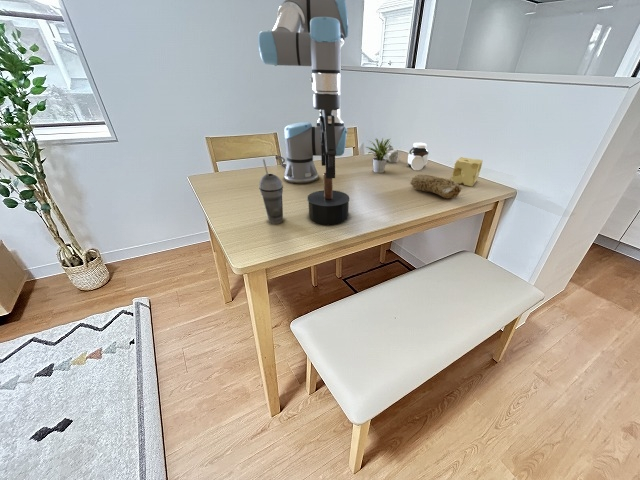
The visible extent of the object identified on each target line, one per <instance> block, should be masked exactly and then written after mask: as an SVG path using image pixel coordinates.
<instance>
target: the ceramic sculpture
mask: <svg viewBox="0 0 640 480" xmlns="http://www.w3.org/2000/svg"><path fill="white" fill-rule="evenodd" d="M388 146H389V145H388ZM388 146H387V147H388ZM386 150H388V151H386V152H389V153H387V154H385V156H384V157H383V158H386V159H387V161H386V162H390V163H391V164H395V163H396V162H397V161H399V157H400V152H399V150H398V149H396V150H395V149H394V147H393V146H392V145H391V144H390V146H389V147H388V148H387V149H386ZM373 156H374V157H377V156H376V154H373Z"/></svg>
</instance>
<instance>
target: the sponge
mask: <svg viewBox="0 0 640 480" xmlns="http://www.w3.org/2000/svg"><path fill="white" fill-rule="evenodd" d="M410 185H411V186H412V188H414V189H416V190H420V191H421V192H426V193H434V194H435V195H438V196H440V197H442V198H443V199H451V198H452V199H453V198H455V199H456V198H457V197H458V196H459V195H460V194H461V192H462V186H461V184H458V183H455V182H453V181H452V180H451V179H449V178H444V177H438V176H434V175H430V174H417V175H415V176H412V178H411V180H410Z"/></svg>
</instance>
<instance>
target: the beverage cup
mask: <svg viewBox="0 0 640 480" xmlns="http://www.w3.org/2000/svg"><path fill="white" fill-rule="evenodd" d="M262 162H263V167H264V170H265V174H264V175H262V177H261V178H260V181H259V191H260V194H261V196H262V200H263V205H264V208H265V212H266V216H267V220H268V223H270V224H271V225H272V224H273V225H278V224H280V223H282V222H283V221H284V220H283V218H284V211H283V210H284V209H283V192H284V185H283V182H282V180H281V179H280V177H279V176H277V175H276V174H274V173H269V171H268V168H267V164H266V160H265V158H262Z"/></svg>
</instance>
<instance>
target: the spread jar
mask: <svg viewBox="0 0 640 480" xmlns="http://www.w3.org/2000/svg"><path fill="white" fill-rule="evenodd" d="M412 145H413V146H412V147H411V148H410V149H409V150H408V151H409V152H408V156H407V164H408V166H409V167H410V168H412V170H414V171H421V170H423V168H425V167H426V165H427V164H428V160H429V150H428V149H427V146H428V144H427V143H425V142H413V144H412Z"/></svg>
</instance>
